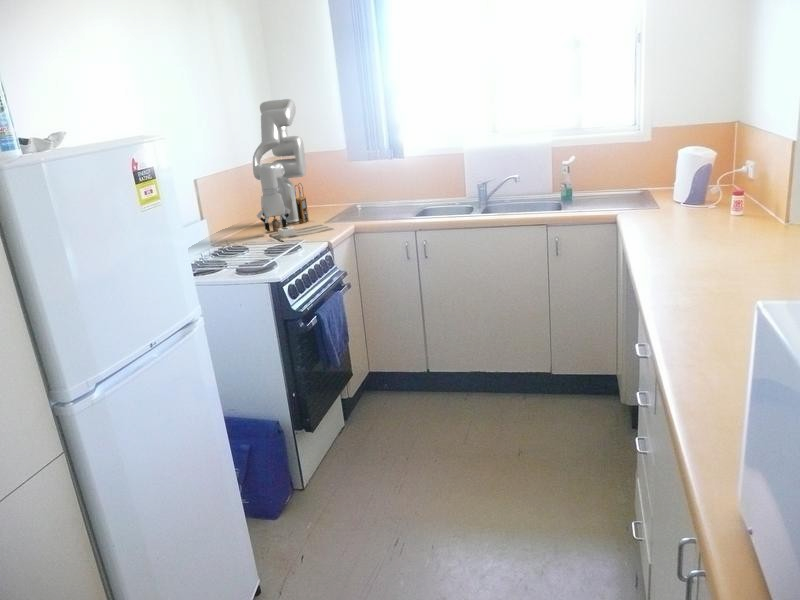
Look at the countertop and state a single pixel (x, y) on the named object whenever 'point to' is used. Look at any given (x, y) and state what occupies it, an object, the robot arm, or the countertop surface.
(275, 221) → the awl
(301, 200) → the multimeter
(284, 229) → the thermostat
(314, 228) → the subfloor panel
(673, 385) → the countertop surface
